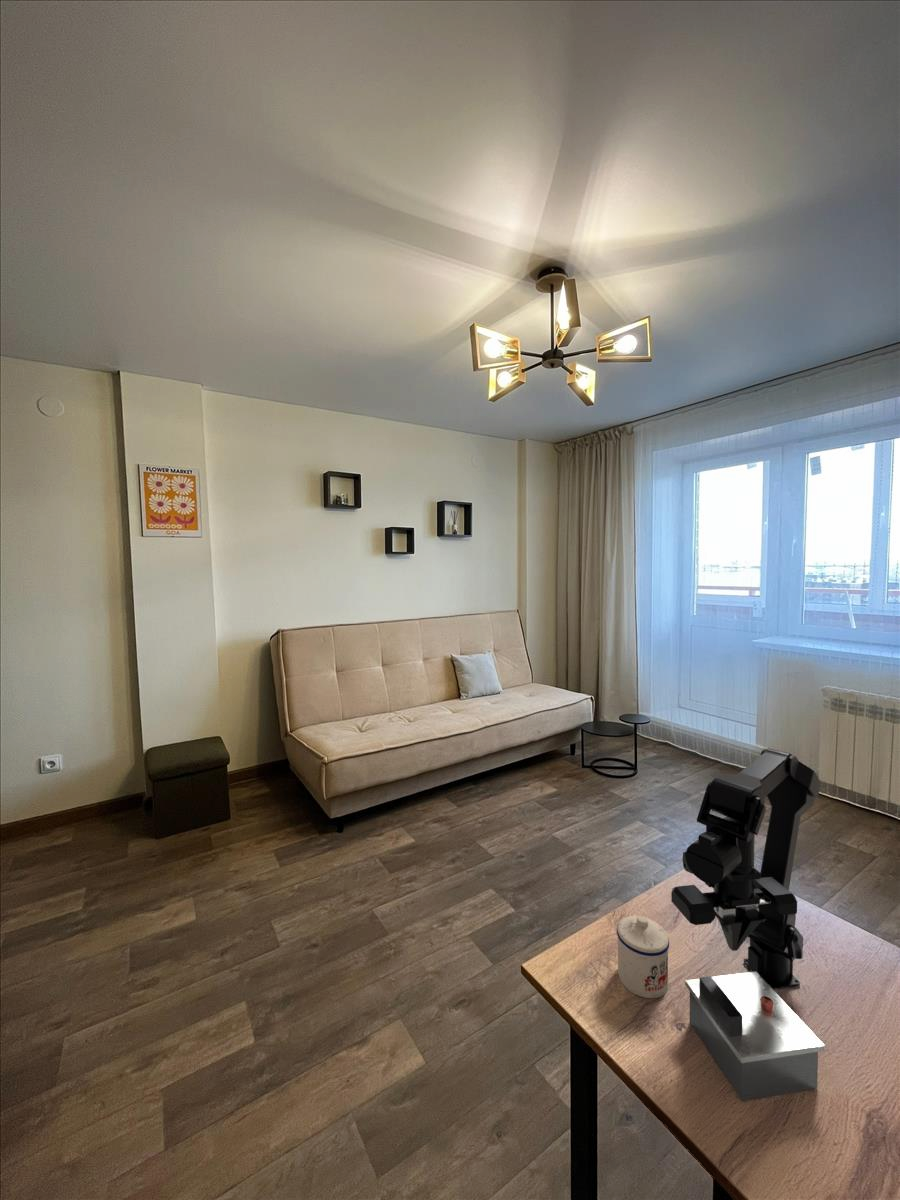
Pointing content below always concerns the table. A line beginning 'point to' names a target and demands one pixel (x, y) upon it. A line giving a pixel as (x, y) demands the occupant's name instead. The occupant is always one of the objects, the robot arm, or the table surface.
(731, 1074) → the metal box
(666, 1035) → the table surface
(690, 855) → the robot arm
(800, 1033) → the box lid
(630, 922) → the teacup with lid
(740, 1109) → the table surface
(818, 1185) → the table surface
